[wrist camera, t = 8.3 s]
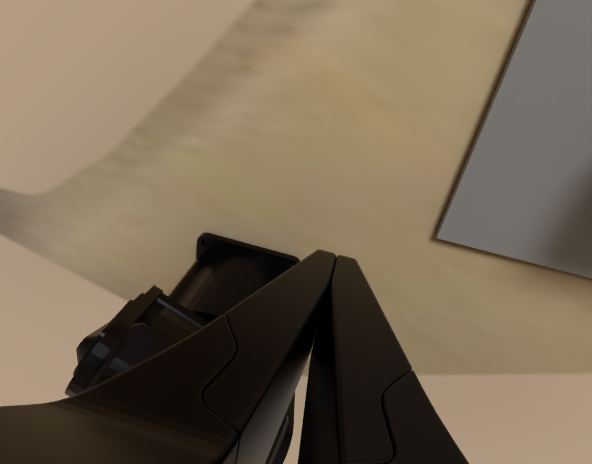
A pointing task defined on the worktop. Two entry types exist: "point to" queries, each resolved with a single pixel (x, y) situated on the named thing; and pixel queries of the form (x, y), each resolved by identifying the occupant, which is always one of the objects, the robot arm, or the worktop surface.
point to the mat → (534, 149)
